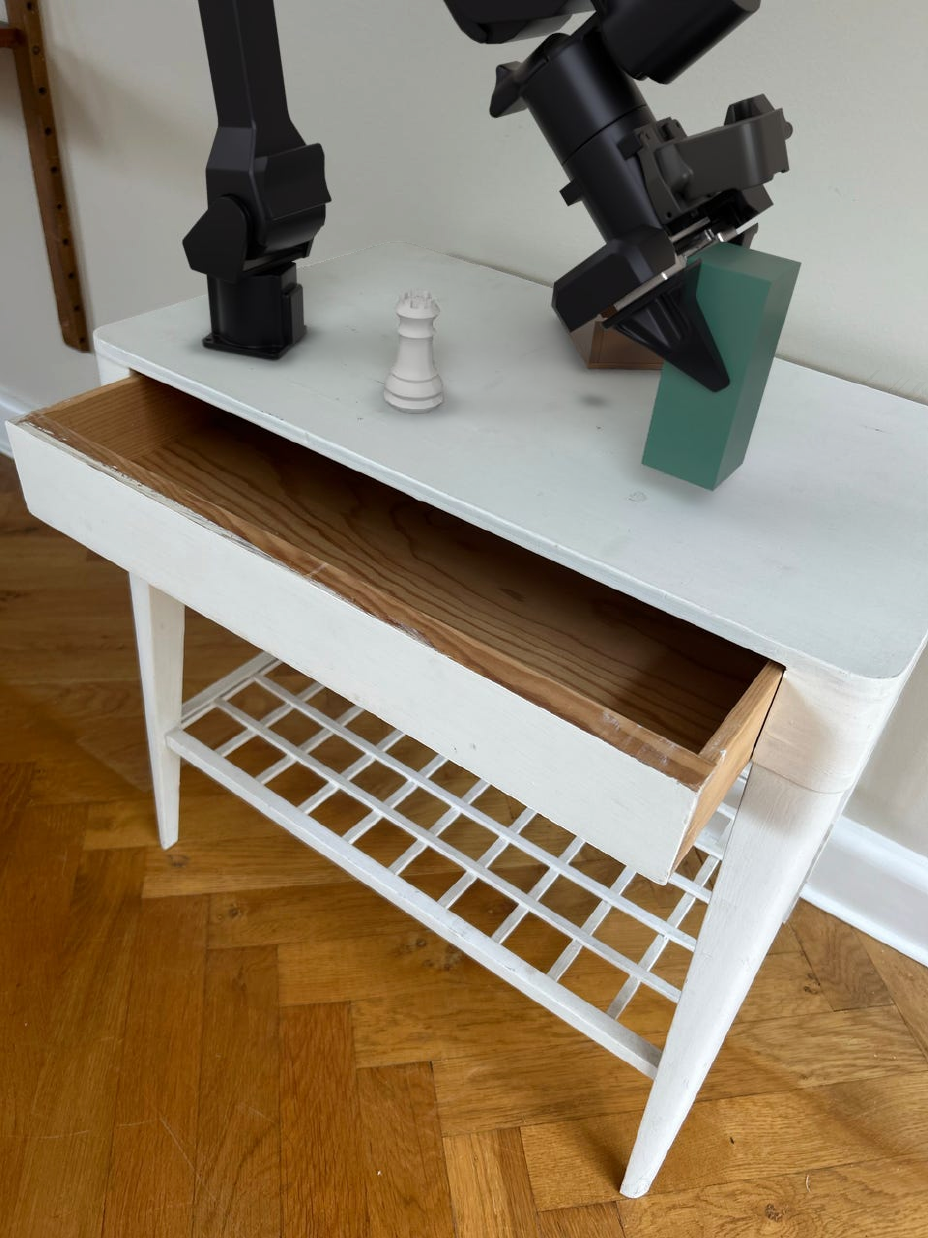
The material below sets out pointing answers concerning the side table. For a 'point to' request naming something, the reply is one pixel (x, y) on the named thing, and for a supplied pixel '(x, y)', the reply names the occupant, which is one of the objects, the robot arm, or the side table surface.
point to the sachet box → (747, 340)
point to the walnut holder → (611, 347)
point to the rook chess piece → (415, 356)
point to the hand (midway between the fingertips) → (739, 373)
